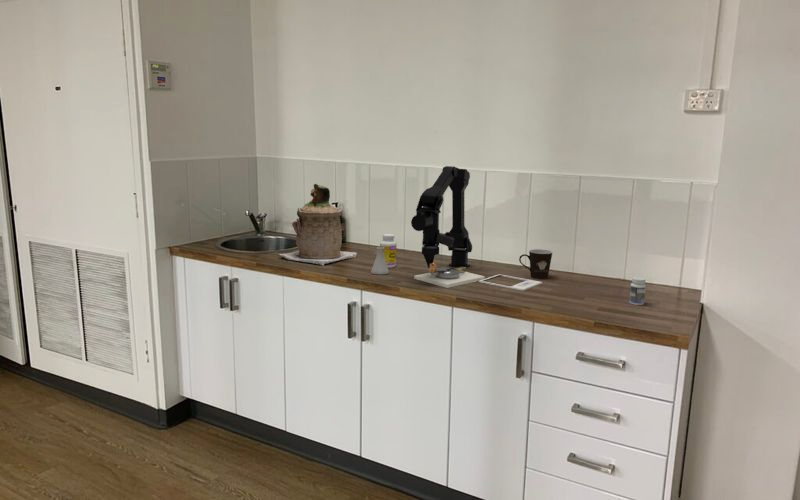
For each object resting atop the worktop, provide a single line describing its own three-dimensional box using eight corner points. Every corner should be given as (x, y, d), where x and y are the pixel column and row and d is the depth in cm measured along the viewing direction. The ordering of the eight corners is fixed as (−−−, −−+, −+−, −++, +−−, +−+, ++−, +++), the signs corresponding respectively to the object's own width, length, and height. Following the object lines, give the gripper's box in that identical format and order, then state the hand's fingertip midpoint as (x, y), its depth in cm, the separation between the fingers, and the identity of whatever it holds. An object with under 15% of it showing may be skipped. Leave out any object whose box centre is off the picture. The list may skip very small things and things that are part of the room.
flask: (387, 275, 233) (387, 249, 231) (368, 274, 235) (368, 248, 233) (391, 271, 240) (391, 246, 238) (373, 270, 242) (373, 245, 240)
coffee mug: (552, 276, 237) (554, 250, 235) (548, 280, 230) (550, 254, 228) (522, 272, 242) (524, 247, 240) (517, 277, 234) (518, 251, 232)
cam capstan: (457, 271, 236) (458, 257, 235) (471, 276, 228) (472, 261, 227) (423, 275, 228) (423, 260, 227) (436, 280, 221) (437, 265, 219)
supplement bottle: (389, 268, 245) (389, 236, 242) (376, 266, 249) (376, 234, 246) (399, 266, 250) (400, 234, 247) (386, 263, 254) (387, 232, 251)
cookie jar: (359, 256, 267) (359, 182, 261) (322, 266, 246) (322, 186, 240) (315, 250, 280) (314, 179, 273) (277, 259, 259) (275, 182, 253)
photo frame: (523, 288, 215) (479, 280, 226) (522, 292, 215) (478, 283, 226) (542, 281, 226) (499, 273, 237) (542, 284, 226) (499, 276, 237)
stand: (451, 271, 242) (451, 265, 242) (484, 279, 230) (484, 273, 229) (414, 278, 229) (414, 272, 229) (447, 287, 217) (447, 281, 216)
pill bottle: (626, 301, 204) (628, 276, 202) (640, 301, 204) (642, 276, 203) (632, 305, 199) (635, 280, 198) (646, 305, 200) (649, 280, 198)
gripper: (454, 231, 214) (453, 275, 218) (452, 222, 233) (451, 263, 236) (421, 231, 215) (421, 274, 218) (422, 222, 233) (422, 262, 237)
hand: (430, 268), depth 227 cm, fingers closed
